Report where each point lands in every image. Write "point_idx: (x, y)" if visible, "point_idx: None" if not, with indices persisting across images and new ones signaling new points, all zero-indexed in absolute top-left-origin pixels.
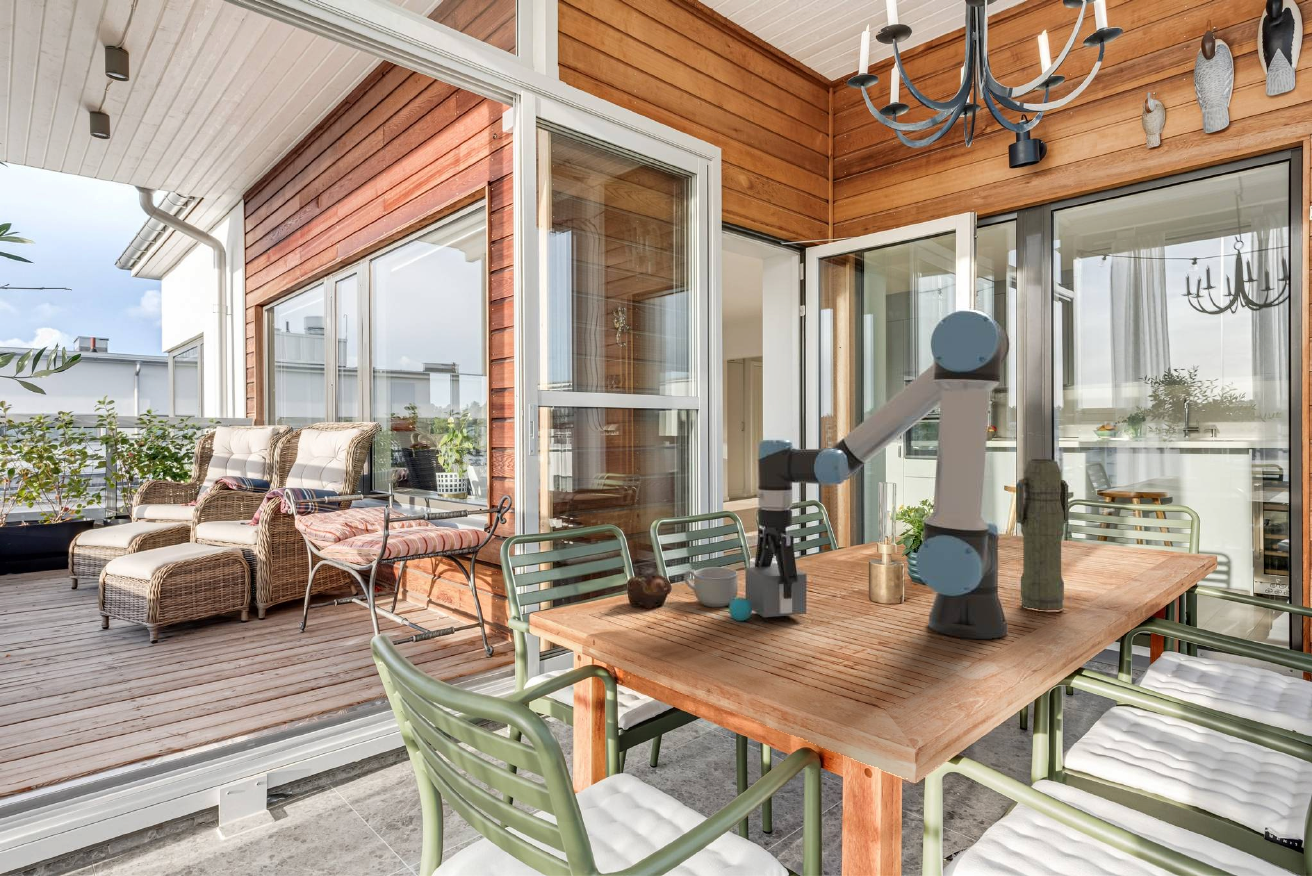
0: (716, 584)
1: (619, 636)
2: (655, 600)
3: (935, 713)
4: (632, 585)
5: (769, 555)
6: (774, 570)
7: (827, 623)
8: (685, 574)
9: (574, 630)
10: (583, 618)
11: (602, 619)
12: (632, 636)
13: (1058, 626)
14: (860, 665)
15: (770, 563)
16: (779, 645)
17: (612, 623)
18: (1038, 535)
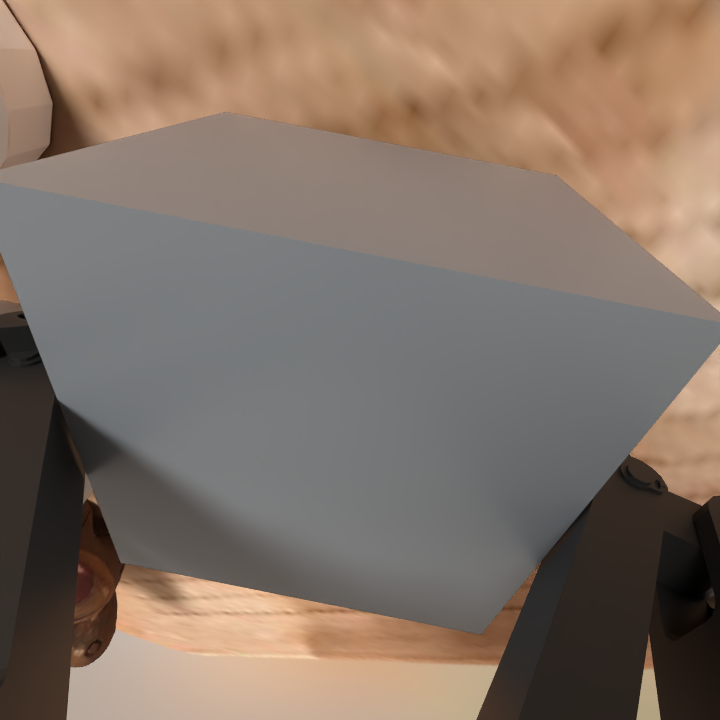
0: (87, 493)
1: (350, 639)
2: (115, 553)
3: None
4: (105, 649)
5: (45, 594)
6: (297, 484)
7: (685, 35)
8: None
9: (276, 656)
10: (190, 626)
11: (207, 614)
12: (362, 630)
13: None
14: None
15: (52, 437)
16: (703, 482)
17: (246, 615)
18: None
